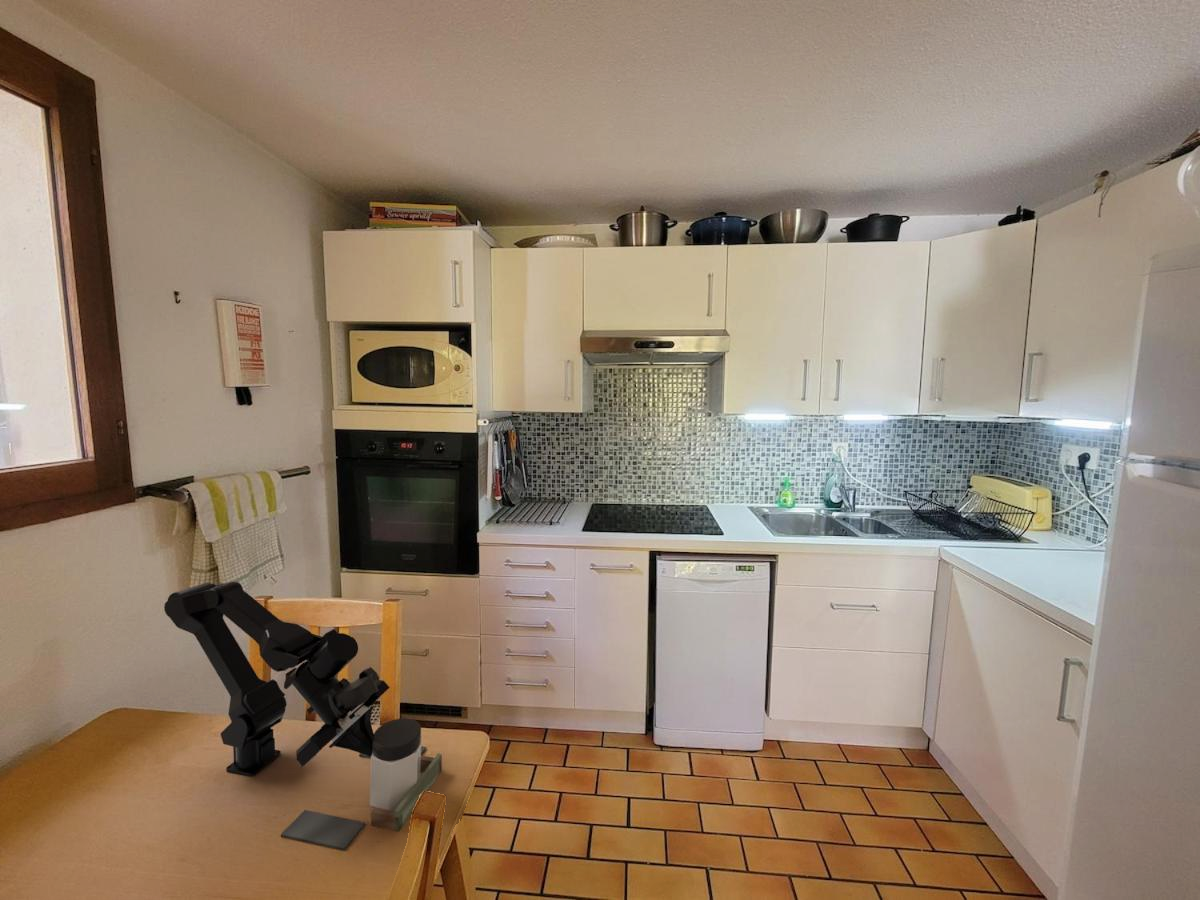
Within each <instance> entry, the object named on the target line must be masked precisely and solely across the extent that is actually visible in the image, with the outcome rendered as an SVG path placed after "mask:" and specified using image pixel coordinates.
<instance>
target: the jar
mask: <svg viewBox="0 0 1200 900" xmlns="http://www.w3.org/2000/svg"><path fill="white" fill-rule="evenodd" d="M421 727H422V726H421V725H420V723H419V722H418V721H417V720H415V719H413V718H396V719H393V720H389V721H387V722H384V724H382V725H380V726H379V727H378V728H377V729H376V730H375V731H374V732H373V733H374V735H373V742H372V748H373V752H372V755H371V758H370V777H369V778H370V782H369V783H370V785H369V806H371V807H373V808H374V807H376V808H381V809H386V810H391V811H395V810H396V808H397V807H398V806H399V804H400V803H401V802H402V800H403V799H404V798H405V796H406V795H407V794H408V793H409V791H410V790H411V789H412V787H413V786H414V785H415V784H416V783H417V781H418V779H419V778H420V777H421V771H420V769H421V756H422V755H421V746H422V739H423V738H422V728H421Z"/></svg>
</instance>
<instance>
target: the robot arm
mask: <svg viewBox="0 0 1200 900" xmlns="http://www.w3.org/2000/svg"><path fill="white" fill-rule="evenodd" d="M243 588H244V587H243V586H242V584H241V583H240V582H238V581H229V582H223V583H220V584H215V583H211V582H203V583H200V584H198V585H194V586H190V587H188V588H184V589H181V590H177V591H175V592H173V593H171V594H170V595H169V596H168V597H167V598H168V599H167V601H166V602H165V603H164V606H163V607H164V612H165V614H166V616H167V617H169V619H170V620H171V621H172V623H173V624H174V625H175V627H177V628H178V629H180V630H182V631H185V632H187V633H190V634H192V635H194V637H195V638H196V640H197V642H198V644H199V646H200V648H202V651H203V652H204V653H205V655H206V658H207V659H208V661H209V662H210V664H211V665H212V667H213V669H214V670H215V673H216V674H217V676H218V677H219V679H220V681H221V682H222V684H223V685H224V688H225V689H226V690H227V693H228V694H229V696H230V700H229V705H228V706H229V707H228V714H227V715H228V717H229V719H230V721H231V722H229V725H227V727H225V728H224V730H223V731H221V732H220V738H221V741H222V743H223V745H226V746H231V747H232V750H233V751H232V753H233V755H232V756H233V762H231V763H230V764H229V765H228V766H226V770H225V771H226V772H230V773H234V774H235V773H236V774H242V775H246V776H250V777H252V776H255V775H256V774H258V773H259V772H260V771H262V770H263V769H264V768H265V767H267V765H268V764H270V763H271V762H272V761H274V760H275V759H276V758H278V757H279V756H280V755H281V750H279V749H276V741H275V740H276V739H275V738H274V726H276V725H278V724H280V723H281V722H282V720H283V717H284V715H285V712H286V708H287V706H288V702H287V699H286V697H285V696H286V693H284V692H283V690H282V689H281V688H280V685H279V683H278V682H277V680H275V679H271V680H269V681H266V680H264V679H261V678H260V677H259V676H258V674H257V673H256V671H255V669H254V668H253V666H252V664H251V663H250V661H249V659H248V658H247V656H246V654H245V653H244V651H243V649H242V648H241V645H240V644H239V643H238V641H237V639H236V637H235V635H233V633H232V631H231V629H230V628H229V626H228V624H227V623H226V621H225V619H224V617H226V618H227V619H229V620H230V621H231V623H233V624H235V626H237V627H238V628H239V629H240V630H242V631H243V632H244V633H245V634H246V635H247V636H248V637H250V638H252V640H254V641H255V642H256V644H257V645H258V647H259V648H258V649H259V656H260V657H261V659H263V661H264V662H265V663H266V664H267V665H268V667H270V669H271V670H273V671H275V672H277V673H279V672H285V671H286V670H288V669H291V670H289V671H288V672H286V673H285V679H284V682H283V689H284V690H287V689H290V687H291V686H294V688H295V689H296V690H297V691H298V693H299V694H300V695H301V696H302V697H303V698H304V700H305V701H306V703H307V704H308V705H309V707H308V708H307V709H306V711H307V713H308V714H309V715H312V713H316V714H317V715H318V717H319V719H321V721H322V722H323V723H324V724H323V725H322V726H320V729H318V730H317V731H316V732H315V733H314V734H312V735H311V736H310V737H309V738H308V739H307V740H306V741H305V742H304V743H303V744H302V745H301V746H299V748H297V750H295V752H296V753H295V755H296V761H297V762H298V763H299V765H300V766H301V768H303V767H305V766H306V765H307V764H308V763H309V762H310V761H312V759H313V758H314V757H316V755H317V754H318V753H319V752H320V751H322V750H323V749H324V747H325V746H327V745H328V744H329V743H330V742H331V744H330V745H329V746H328V748H329V749H332V747H337V748H342V749H346V750H350V751H353V752H356V753H359V754H360V753H361V754H364V755H367V756H370V757H371V755H372V752H373V748H372V742H373V735H374V733H375V732H374V730H373V726H372V723H371V721H372V720H371V718H372V711H373V710H374V709H375V706H374V705H373V704H374V703H376V702H377V700H379V698H381V696H383V695H384V694H385V693H386V692H387V691H388V690H389V689H390V688H391V687H390V686H389V685H388V683H386V681H385V680H382V679H380V676H379V674H378V673H377V672H376V670H375V669H374V668H372V667H371V666H370V667H367V668H365V669H363V670H362V671H361V672H360V673H359V674H358V678H356V680H354V681H352V682H350V681H349V680H348V679H347V678H345V677H343V678H342V679H340V680H339V678H338V677H337V675H339V673H340V672H341V671H342V670H343V669H344V668H345V667H346V666H347V665H348V664H349V663H351V661H352V660H353V659H355V657H356V656H357V654H358V653H359V644H358V641H356V639H355V637H353V636H351V635H349V634H347V633H343V632H342V633H341V632H340V633H338V632H337V630H336V629H335V628H333V629H331V630H329V631H327V632H325V633H324V634H323V635H317V634H314V633H312V632H311V631H310V630H308V629H306V628H305V627H303V626H301V625H299V624H298V623H294V622H289V621H283V620H281V619H279V618H278V617H277V616H275V614H273V613H272V612H271V610H268V609H267V608H266V607H265V606H264V605H262V604H261V603H260V602H258V601H257V600H256V599H255V598H254V597H252V596H251V595H250V594H249V593H248V592H246V591H245V590H244V589H243ZM296 666H298V667H296ZM340 719H341V720H340Z"/></svg>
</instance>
